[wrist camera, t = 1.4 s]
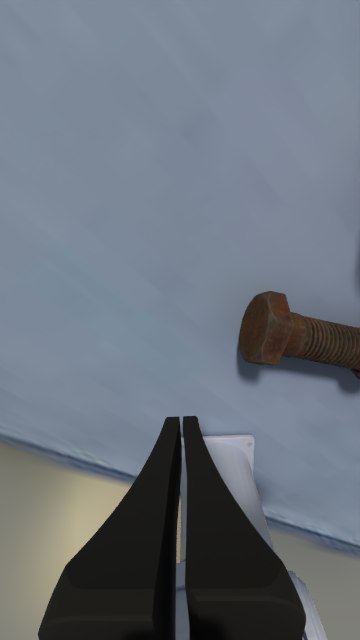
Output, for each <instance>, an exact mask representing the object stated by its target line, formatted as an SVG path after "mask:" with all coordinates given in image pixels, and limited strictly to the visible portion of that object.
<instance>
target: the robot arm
mask: <svg viewBox="0 0 360 640" xmlns="http://www.w3.org/2000/svg"><path fill="white" fill-rule="evenodd" d="M183 436H184V437H181V432H180V420H179V417H167V418H166V419H165V422H164V425H163V428H162V430H161V433H160V435H159V437H158V440H157V442H156V444H155V446H154V448H153V450H152V452H151V454H150V456H149V458H148V460H147V461H146V463H145V465H144V467H143V469H142V470H141V472H140V474H139V475H138V477H137V479H136V480H135V482H134V483H133V485H132V486H131V488H130V489H129V491H128V492H127V494H126V495H125V496H124V498H123V499H122V501H121V502H120V503H119V505H118V506H117V507H116V509H115V510H114V511H113V513H112V514H111V515H110V516H109V518H108V519H107V520H106V521H105V522H104V524H103V525H102V526H101V527H100V528H99V530H98V531H97V532H96V533H95V534H94V536H93V537H92V538H91V539H90V540H89V541H88V542H87V543H86V544H85V545H84V547H83V548H82V549H81V550H80V551H79V552H78V553H77V554H76V555H75V556H74V557H73V558H72V559H71V561H70V562H68V564H67V565H66V566H65V568H64V570H63V572H62V574H61V576H60V578H59V581H58V583H57V585H56V587H55V589H54V591H53V593H52V596H51V598H50V601H49V604H48V606H47V610H46V612H45V615H44V618H43V620H42V623H41V626H40V628H39V632H38V637H39V640H327V638H326V635H325V632H324V629H323V626H322V623H321V621H320V618H319V615H318V613H317V610H316V607H315V605H314V602H313V599H312V597H311V595H310V592H309V590H308V588H307V586H306V584H305V583H304V582H303V581H302V580H301V579H300V578H298V577H297V576H296V574H295V573H294V572H293V571H287V569H286V567H285V566H284V564H283V562H282V561H281V559H280V558H279V556H278V553H276V552H275V551H274V548H273V544H272V541H271V537H270V534H269V530H268V526H267V523H266V519H265V516H264V512H263V509H262V505H261V502H260V498H259V494H258V491H257V487H256V484H255V480H254V477H253V463H254V444H255V440H254V437H253V436H252V435H225V436H202V434H201V431H200V427H199V423H198V418H197V417H196V416H183ZM248 443H250V444H248ZM180 492H181V551H180V563H177V564H176V542H177V541H176V539H177V538H176V537H177V536H176V535H177V518H178V506H179V496H180Z"/></svg>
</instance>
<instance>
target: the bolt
mask: <svg viewBox="0 0 360 640" xmlns="http://www.w3.org/2000/svg"><path fill="white" fill-rule="evenodd" d="M239 347H240V351H241V354H242V356H243V358H244V360H245V361H246V362H251V363H256V364H268V365H278V364H279V361H280V359H281V356H284V357H296V358H301V359H306V360H310V361H315V362H320V363H324V364H331V365H336V366H340V367H346V368H351V370H352V372H353V373H354V374H355V376H356V377H357V378H358V379H360V328H356V327H351V326H347V325H341V324H337V323H333V322H328V321H323V320H319V319H315V318H310V317H304V316H301V315H300V314H297V313H293V312H290V309H289V306H288V302H287V299H286V295H285V294H282V293H278V292H273V291H268V292H263V293H261V294H258V295H256V296H255V297H254V298H253V300H252V301H251V302H250V304H249V305H248V307H247V309H246V311H245V314H244V317H243V320H242V324H241V329H240V338H239Z"/></svg>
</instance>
